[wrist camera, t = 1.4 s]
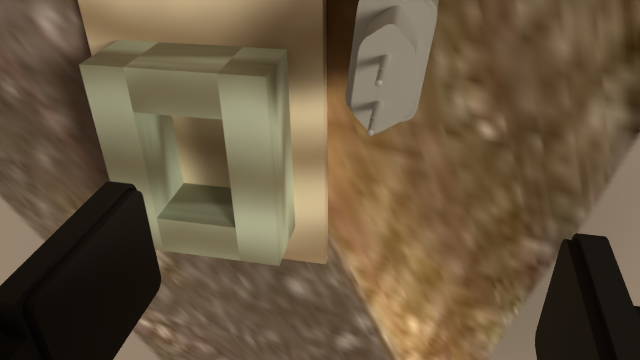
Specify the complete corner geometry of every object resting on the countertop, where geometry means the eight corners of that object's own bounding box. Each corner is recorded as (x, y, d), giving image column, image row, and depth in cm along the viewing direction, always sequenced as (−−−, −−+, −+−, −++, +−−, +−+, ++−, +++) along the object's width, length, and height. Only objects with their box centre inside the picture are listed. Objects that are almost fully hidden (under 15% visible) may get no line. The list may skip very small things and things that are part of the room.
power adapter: (443, -39, 26) (438, 38, 16) (421, 66, 29) (405, 185, 19) (381, -49, 27) (338, 22, 17) (365, 56, 30) (320, 168, 20)
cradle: (84, -20, 31) (26, 3, 26) (326, -11, 28) (304, 15, 24) (144, 231, 40) (108, 276, 36) (328, 254, 38) (312, 306, 34)
